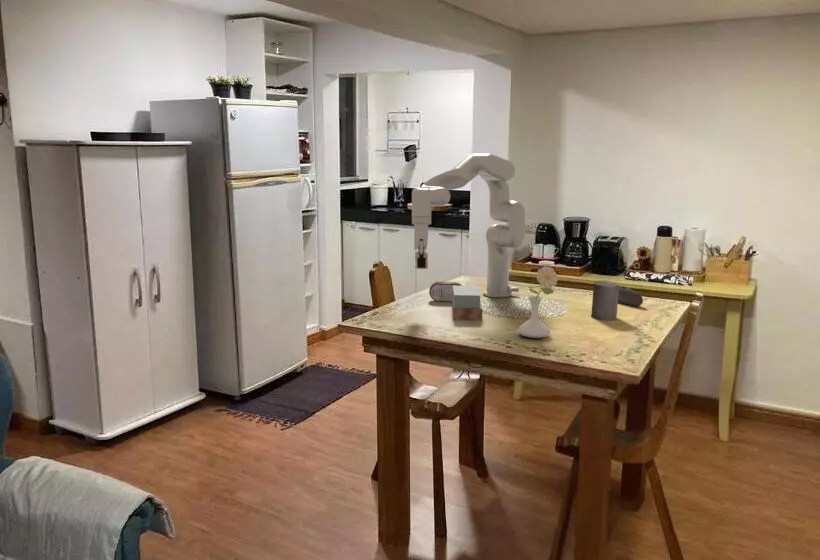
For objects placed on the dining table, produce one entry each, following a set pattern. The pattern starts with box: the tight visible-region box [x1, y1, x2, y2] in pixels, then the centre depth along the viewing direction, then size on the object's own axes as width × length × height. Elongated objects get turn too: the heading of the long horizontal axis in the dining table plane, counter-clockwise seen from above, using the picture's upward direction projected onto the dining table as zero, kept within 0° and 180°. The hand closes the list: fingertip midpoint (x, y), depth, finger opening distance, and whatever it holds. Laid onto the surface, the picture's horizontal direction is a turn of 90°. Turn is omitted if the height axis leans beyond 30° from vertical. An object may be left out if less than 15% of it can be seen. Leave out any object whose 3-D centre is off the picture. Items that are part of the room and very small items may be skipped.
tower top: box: [453, 285, 481, 308], centre depth 263 cm, size 10×18×5 cm, turn 178°
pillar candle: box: [590, 279, 620, 321], centre depth 259 cm, size 10×10×15 cm
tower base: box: [451, 297, 483, 321], centre depth 263 cm, size 11×19×5 cm, turn 178°
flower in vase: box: [516, 265, 559, 339], centre depth 231 cm, size 13×11×25 cm
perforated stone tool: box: [618, 285, 644, 307], centre depth 282 cm, size 15×5×7 cm, turn 29°
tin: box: [428, 281, 463, 303], centre depth 284 cm, size 15×3×8 cm, turn 84°
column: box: [414, 251, 429, 270], centre depth 261 cm, size 5×5×6 cm
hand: (421, 265), depth 262 cm, fingers closed on column, 5 cm apart
